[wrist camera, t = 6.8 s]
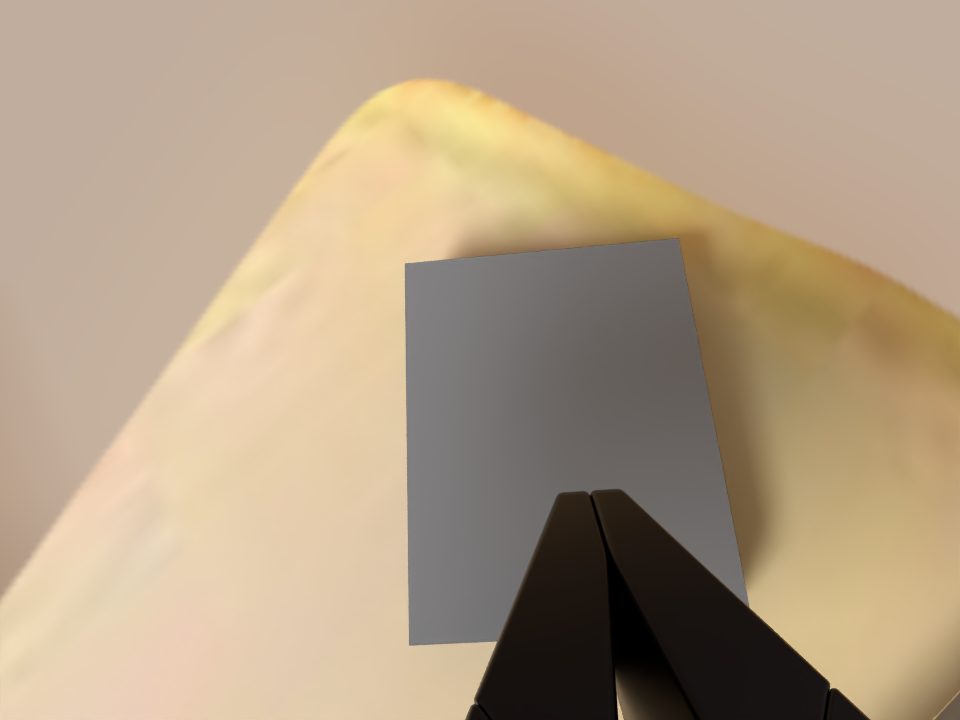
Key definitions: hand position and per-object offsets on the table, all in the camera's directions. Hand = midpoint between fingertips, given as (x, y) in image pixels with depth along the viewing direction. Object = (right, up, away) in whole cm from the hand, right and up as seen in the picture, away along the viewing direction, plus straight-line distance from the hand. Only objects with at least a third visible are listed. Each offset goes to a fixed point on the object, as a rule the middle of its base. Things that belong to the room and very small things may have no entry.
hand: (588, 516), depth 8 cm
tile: (+1, -4, +5) cm, 7 cm away
